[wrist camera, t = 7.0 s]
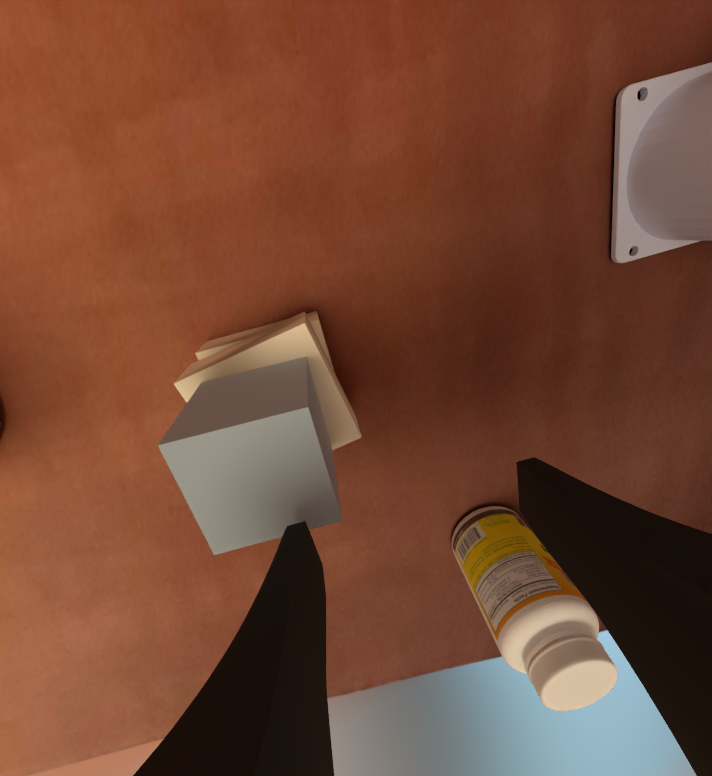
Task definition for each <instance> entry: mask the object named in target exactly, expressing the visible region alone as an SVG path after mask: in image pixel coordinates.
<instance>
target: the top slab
mask: <svg viewBox="0 0 712 776" xmlns="http://www.w3.org/2000/svg"><path fill="white" fill-rule="evenodd" d="M302 357H307V360H308V364H309V367H310V371H311V374H312V378H313V381H314V385H315V388H316V392H317V395H318V399H319V402H320V406H321V409H322V413H323V416H324V420H325V423H326V427H327V430H328V434H329V437H330V441H331V444H332V450H334V449H337V448H339V447H341V446H343V445H345V444H348V443H350V442H352V441H354V440H357V439H359V438H361V437H362V436H361V433H360V429H359V426H358V422H357V419H356V416H355V413H354V411H353V409H352V407H351V405H350V403H349V401H348V399H347V396H346V394H345V392H344V390H343V388H342V386H341V384H340V382H339V380H338V378H337V376H336V374H335V372H334V370H333V368H332V366H331V364H330V362H329V360H328V358H327V356H326V354H325V352H324V350H323V348H322V346H321V344H320V342H319V340H318V338H317V336H316V334H315V331H314V329H313V327H312V325H311V323H310V321H309V319H308V317H307V315H306V313H305V311H304V312H302V313H300V314H298V315H296V316H293V317H291V318H289V319H287V320H285V321H283V322H281V323H278V324H276V325H274V326H272V327H270V328H268V329H266V330H263V331H261V332H259V333H257V334H255V335H253V336H250V337H248V338H246V339H244V340H242V341H240V342H238V343H235V344H233V345H231V346H229V347H227V348H225V349H222V350H220V351H218V352H216V353H214V354H212V355H210V356H207V357H205V358H203V359H201V360H199V361H197V362H195V363H192V364H190V366H189V367H188V368H187V369H186V370H185V371H184V372H183V373H182V375H181V376H180V377H179V378H178V379H177V380H176V381H175V382H174V385H175V387H176V388H177V390H178V391H179V392H180V394H181V395H182V397H183V398H184V399H185V401H186V402H188V401H189V400H190V398H191V397H192V395H193V394H194V392H195V391H196V389H197V388H198V386H199V385H200V384H201V383H202V382H206V381H210V380H214V379H218V378H222V377H226V376H230V375H234V374H238V373H242V372H246V371H250V370H254V369H258V368H262V367H266V366H270V365H274V364H278V363H282V362H286V361H290V360H294V359H298V358H302Z"/></svg>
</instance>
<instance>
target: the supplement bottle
mask: <svg viewBox="0 0 712 776" xmlns="http://www.w3.org/2000/svg"><path fill="white" fill-rule="evenodd" d="M452 550H453V553H454V555H455V557H456V560H457V562H458V564H459V566H460V568H461V570H462V572H463V574H464V577H465V579H466V581H467V583H468V585H469V587H470V589H471V592H472V594H473V596H474V598H475V600H476V602H477V604H478V606H479V608H480V610H481V612H482V615H483V617H484V619H485V621H486V623H487V625H488V627H489V629H490V632H491V634H492V636H493V638H494V640H495V642H496V644H497V647H498V649H499V651H500V653H501V655H502V657H503V658H504V660H505V661H506V662H507V663H508V664H509V665H510V666H511V667H512V668H514V669H515V670H517V671H519V672H522V673H525V674H527V675H528V676H529V679H530V681H531V683H532V684H533V685H534V687H535V689H536V691H537V693H538V695H539V697H540V698H541V700H542V702H543V703H544V705H545V706H547V707H548V708H550V709H553V710H557V711H569V710H575V709H579V708H582V707H585V706H587V705H590V704H592V703H593V702H595V701H597V700H599V699H600V698H602V697H603V696H604V695H605V694H607V693H608V692H609V691H610V690H611V689H612V687H613V686H614V685H615V683H616V680H617V677H618V672H617V668H616V666H615V665H614V663H613V662H612V660H611V659H610V657H609V656H608V655H607V653H606V651H605V650H604V648H603V646H602V644H601V643H600V642H599V641H597V637H598V633H599V623H598V619H597V616H596V614H595V612H594V611H593V609H592V608H591V607H590V605H589V604H588V603H587V601H586V600H585V599H584V597H583V596H582V595H581V594H580V592H579V591H578V590H577V588H576V587H575V586H574V585H573V583H572V582H571V581H570V579H569V578H568V577H567V576H566V574H565V573H564V572H563V570H562V569H561V568H560V567H559V565H558V564H557V563H556V562H555V560H554V559H553V558H552V556H551V555H550V554H549V553H548V551H547V550H546V549H545V548H544V546H543V545H542V544H541V542H540V541H539V540H538V538H537V537H536V536H535V535H534V533H533V532H532V531H531V530H530V528H529V527H528V526H527V524H526V523H525V522H524V521H523V520H522V518H521V517H520V516H519V515H518V514H517V513H516V512H514V511H512V510H511V509H508V508H505V507H501V506H489V507H484V508H481V509H478V510H476V511H474V512H472V513H470V514H469V515H467V516H466V517H465V518H464V519H463V520H462V521H461V522H460V523H459V524H458V525H457V527H456V529H455V531H454V533H453V537H452Z"/></svg>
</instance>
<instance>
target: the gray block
mask: <svg viewBox="0 0 712 776" xmlns="http://www.w3.org/2000/svg"><path fill="white" fill-rule="evenodd" d="M158 447H159V449H160V451H161V452H162V454H163V456H164V458H165V460H166V462H167V464H168V466H169V468H170V470H171V472H172V474H173V476H174V478H175V480H176V482H177V484H178V486H179V487H180V489H181V491H182V493H183V495H184V497H185V499H186V501H187V503H188V505H189V507H190V509H191V511H192V513H193V515H194V517H195V519H196V521H197V522H198V524H199V526H200V528H201V530H202V532H203V534H204V536H205V538H206V540H207V542H208V544H209V546H210V548H211V550H212V552H213V554H214V555H216V554H220V553H224V552H227V551H231V550H235V549H239V548H242V547H246V546H250V545H253V544H257V543H261V542H264V541H268V540H272V539H276V538H279V537H282V536H283V534H284V531H285V529H286V527H287V526H289V525H292V524H296V523H300V522H303V521H306V524H307V526H308V529H313V528H316V527H320V526H324V525H328V524H331V523H335V522H339V521H342V514H341V507H340V500H339V493H338V486H337V479H336V472H335V465H334V458H333V451H332V444H331V441H330V437H329V434H328V430H327V427H326V423H325V420H324V416H323V413H322V409H321V406H320V402H319V399H318V395H317V392H316V388H315V385H314V381H313V378H312V374H311V371H310V367H309V364H308V360H307V357H302V358H298V359H294V360H290V361H286V362H282V363H278V364H274V365H270V366H266V367H262V368H258V369H254V370H250V371H246V372H242V373H238V374H234V375H230V376H226V377H222V378H218V379H214V380H210V381H206V382H202V383H201V384H200V385H199V386H198V388H197V389H196V391H195V392H194V394H193V395H192V397H191V398H190V400H189V401H188V402H187V404H186V405H185V407H184V408H183V410H182V411H181V413H180V414H179V415H178V417H177V418H176V420H175V421H174V423H173V424H172V426H171V427H170V429H169V430H168V431H167V433H166V434H165V436H164V437H163V439H162V440H161V442H160V443H159V444H158Z"/></svg>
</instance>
